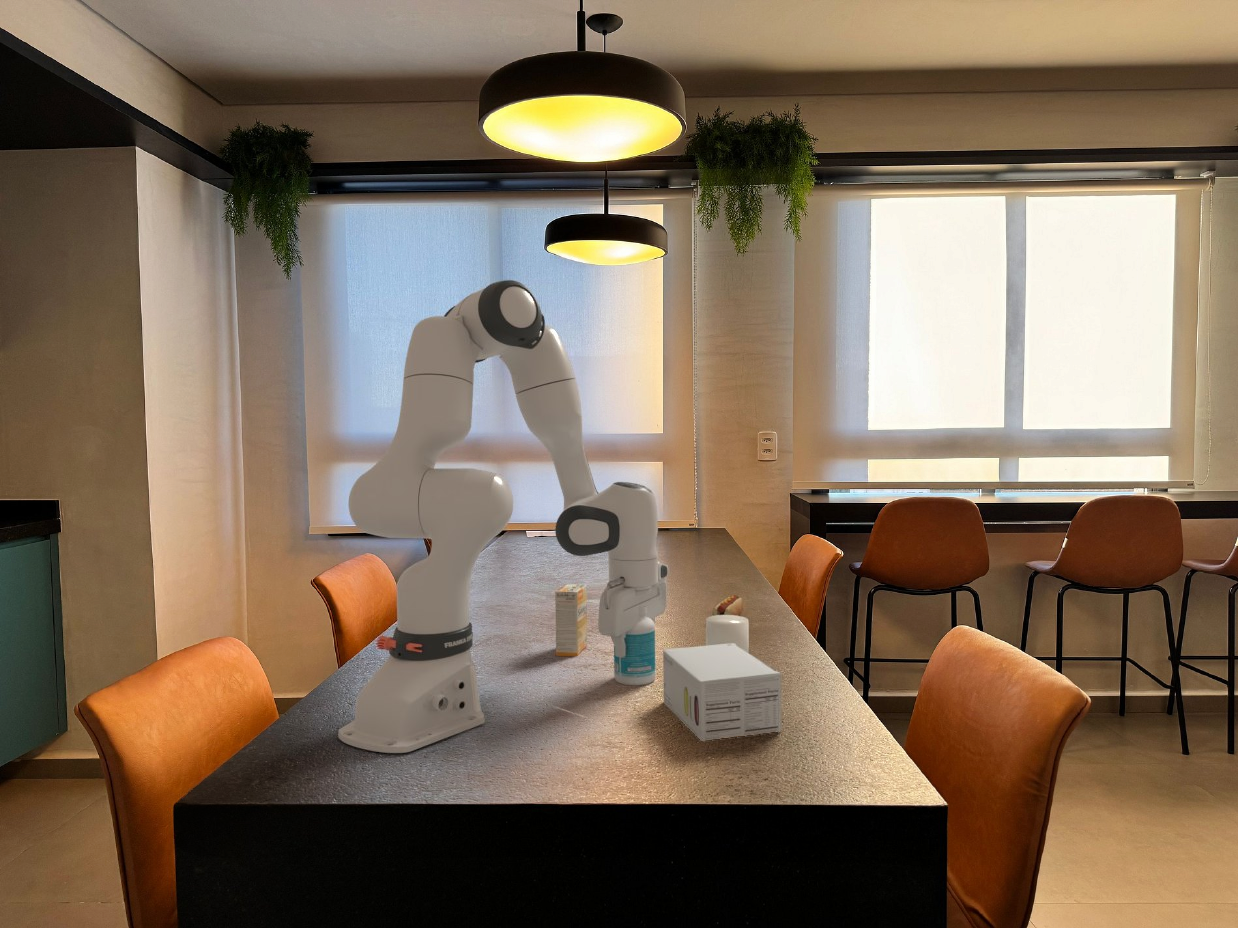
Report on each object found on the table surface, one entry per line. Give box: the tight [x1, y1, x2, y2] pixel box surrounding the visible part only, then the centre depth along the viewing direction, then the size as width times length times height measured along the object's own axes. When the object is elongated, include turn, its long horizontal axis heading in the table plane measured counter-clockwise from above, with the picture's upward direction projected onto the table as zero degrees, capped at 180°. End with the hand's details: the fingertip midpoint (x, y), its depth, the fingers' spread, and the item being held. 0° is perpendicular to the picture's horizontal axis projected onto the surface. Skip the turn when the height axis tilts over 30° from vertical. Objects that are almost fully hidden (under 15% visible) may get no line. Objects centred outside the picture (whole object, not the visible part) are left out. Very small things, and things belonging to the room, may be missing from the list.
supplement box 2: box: [662, 643, 782, 742], centre depth 123 cm, size 17×13×9 cm
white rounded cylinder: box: [705, 615, 750, 654], centre depth 149 cm, size 8×8×9 cm
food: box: [712, 594, 744, 616], centre depth 187 cm, size 14×6×5 cm, turn 157°
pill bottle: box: [613, 606, 656, 687], centre depth 141 cm, size 8×7×14 cm
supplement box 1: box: [554, 583, 588, 657], centre depth 161 cm, size 8×5×13 cm, turn 168°
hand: (633, 649), depth 142 cm, fingers open, 8 cm apart
